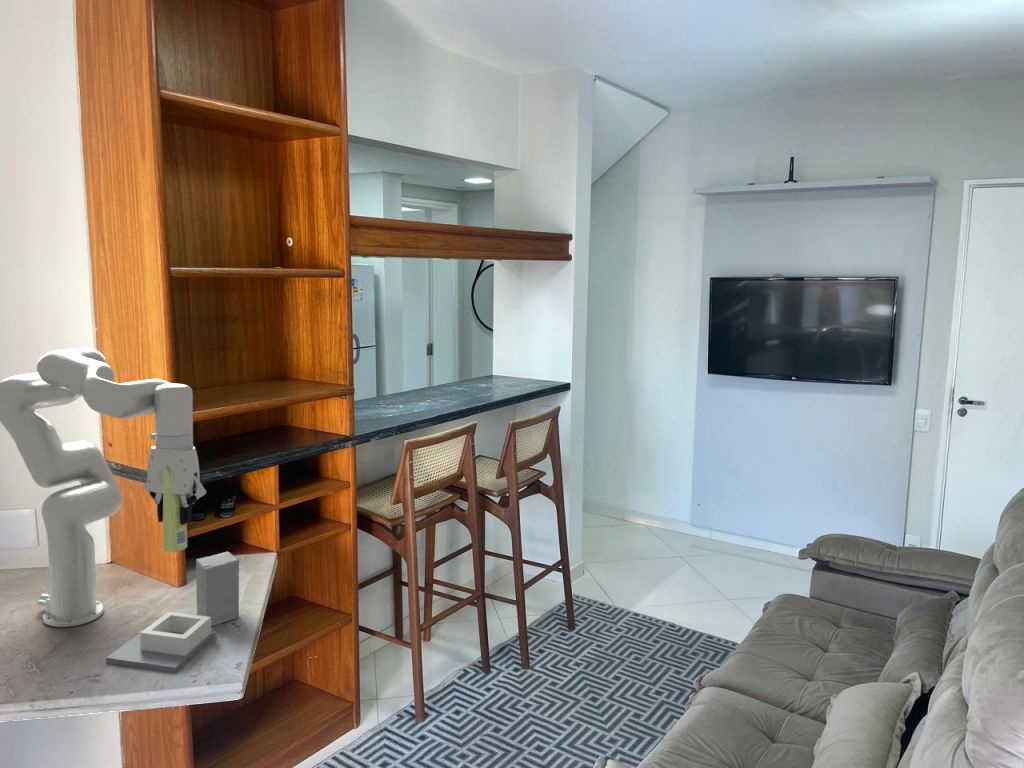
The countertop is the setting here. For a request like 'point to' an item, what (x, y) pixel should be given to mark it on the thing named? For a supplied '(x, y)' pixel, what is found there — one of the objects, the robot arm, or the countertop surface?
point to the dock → (166, 643)
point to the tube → (172, 519)
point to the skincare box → (218, 587)
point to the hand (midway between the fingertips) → (174, 520)
